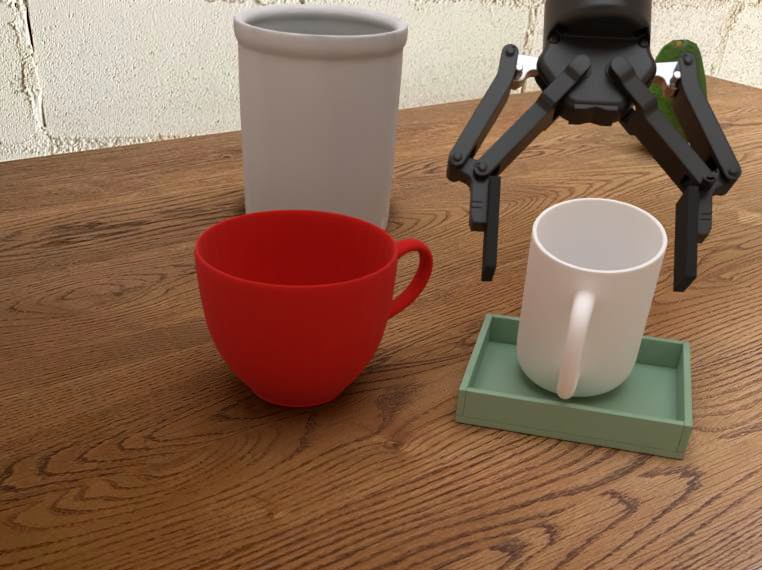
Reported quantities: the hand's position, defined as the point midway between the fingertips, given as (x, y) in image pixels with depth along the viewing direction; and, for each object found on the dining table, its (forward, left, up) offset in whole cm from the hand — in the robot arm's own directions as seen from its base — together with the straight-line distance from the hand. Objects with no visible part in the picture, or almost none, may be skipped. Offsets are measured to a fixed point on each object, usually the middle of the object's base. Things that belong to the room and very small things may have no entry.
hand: (586, 280), depth 65 cm
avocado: (-6, -58, -7) cm, 59 cm away
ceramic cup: (+17, +8, -7) cm, 20 cm away
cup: (0, +5, -5) cm, 7 cm away
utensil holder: (+26, -21, -7) cm, 34 cm away
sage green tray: (-1, +5, -7) cm, 8 cm away
